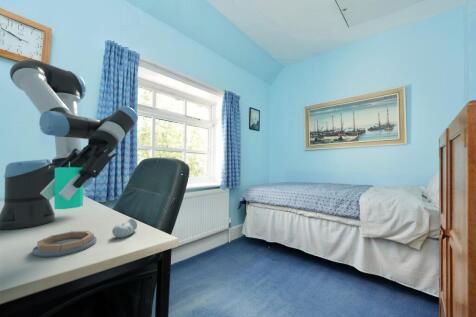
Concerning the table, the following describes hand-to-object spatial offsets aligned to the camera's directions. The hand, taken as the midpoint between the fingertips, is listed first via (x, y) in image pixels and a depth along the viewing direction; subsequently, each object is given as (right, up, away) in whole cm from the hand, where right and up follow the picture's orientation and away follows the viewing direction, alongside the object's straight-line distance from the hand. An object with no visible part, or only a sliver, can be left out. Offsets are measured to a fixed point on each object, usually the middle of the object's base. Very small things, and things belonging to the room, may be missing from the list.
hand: (54, 196), depth 52 cm
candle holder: (0, -14, +4) cm, 14 cm away
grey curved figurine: (+11, -14, +13) cm, 22 cm away
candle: (+1, -4, +4) cm, 5 cm away
